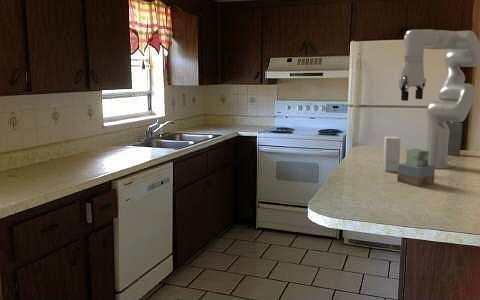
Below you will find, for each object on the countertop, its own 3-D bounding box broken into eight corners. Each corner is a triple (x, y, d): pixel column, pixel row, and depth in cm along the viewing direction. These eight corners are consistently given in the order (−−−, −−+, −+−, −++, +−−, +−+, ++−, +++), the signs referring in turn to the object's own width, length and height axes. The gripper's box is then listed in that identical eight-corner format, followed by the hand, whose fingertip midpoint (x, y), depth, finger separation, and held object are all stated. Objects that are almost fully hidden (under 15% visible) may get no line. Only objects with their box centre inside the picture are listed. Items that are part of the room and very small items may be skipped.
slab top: (413, 170, 192) (413, 161, 192) (434, 175, 184) (434, 165, 183) (397, 173, 187) (398, 164, 186) (418, 178, 179) (419, 168, 178)
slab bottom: (413, 179, 193) (413, 170, 192) (433, 184, 184) (434, 175, 184) (397, 182, 188) (397, 173, 187) (417, 188, 180) (417, 178, 179)
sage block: (416, 162, 189) (417, 148, 188) (428, 165, 184) (429, 150, 183) (405, 163, 187) (406, 149, 186) (416, 166, 181) (417, 152, 180)
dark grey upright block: (429, 154, 251) (432, 118, 247) (430, 152, 256) (433, 117, 252) (459, 156, 244) (463, 119, 241) (459, 154, 249) (462, 118, 246)
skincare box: (399, 172, 204) (401, 138, 202) (383, 171, 206) (385, 138, 203) (396, 168, 212) (398, 136, 210) (382, 168, 214) (383, 135, 211)
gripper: (418, 59, 200) (416, 97, 203) (393, 60, 191) (391, 100, 194) (434, 59, 194) (431, 98, 197) (408, 59, 185) (406, 101, 188)
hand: (411, 99), depth 196 cm, fingers open, 9 cm apart
